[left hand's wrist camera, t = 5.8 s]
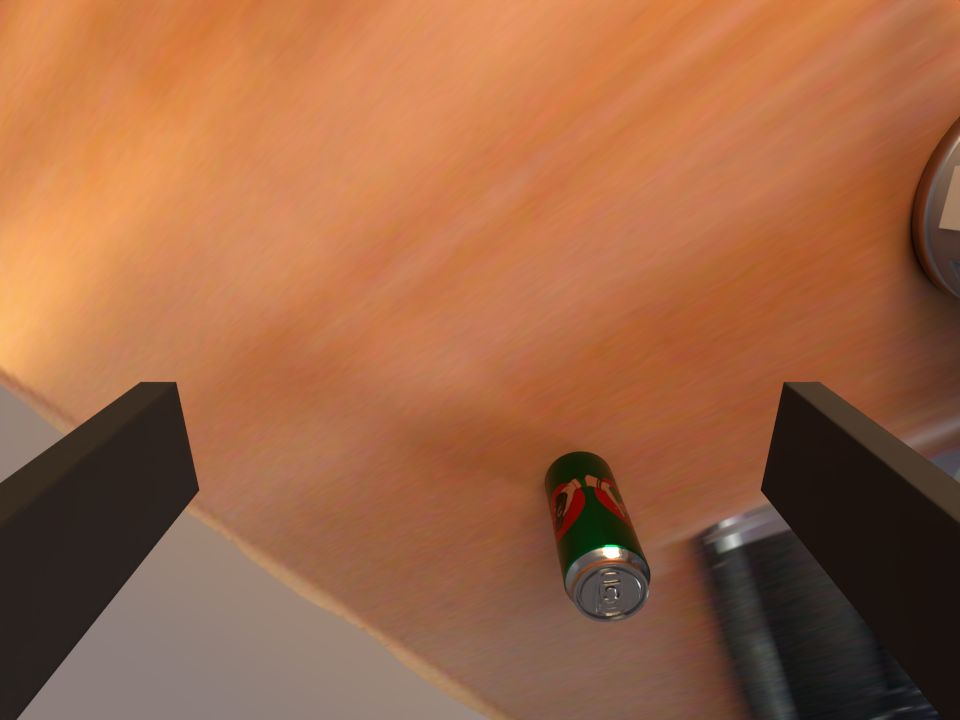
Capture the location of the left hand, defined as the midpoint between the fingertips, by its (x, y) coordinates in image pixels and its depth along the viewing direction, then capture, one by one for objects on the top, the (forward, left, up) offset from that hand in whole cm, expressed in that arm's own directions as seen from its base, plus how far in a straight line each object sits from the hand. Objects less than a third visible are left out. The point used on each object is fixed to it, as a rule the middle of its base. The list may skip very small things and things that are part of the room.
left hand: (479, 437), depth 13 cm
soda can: (-6, +18, -26) cm, 33 cm away
